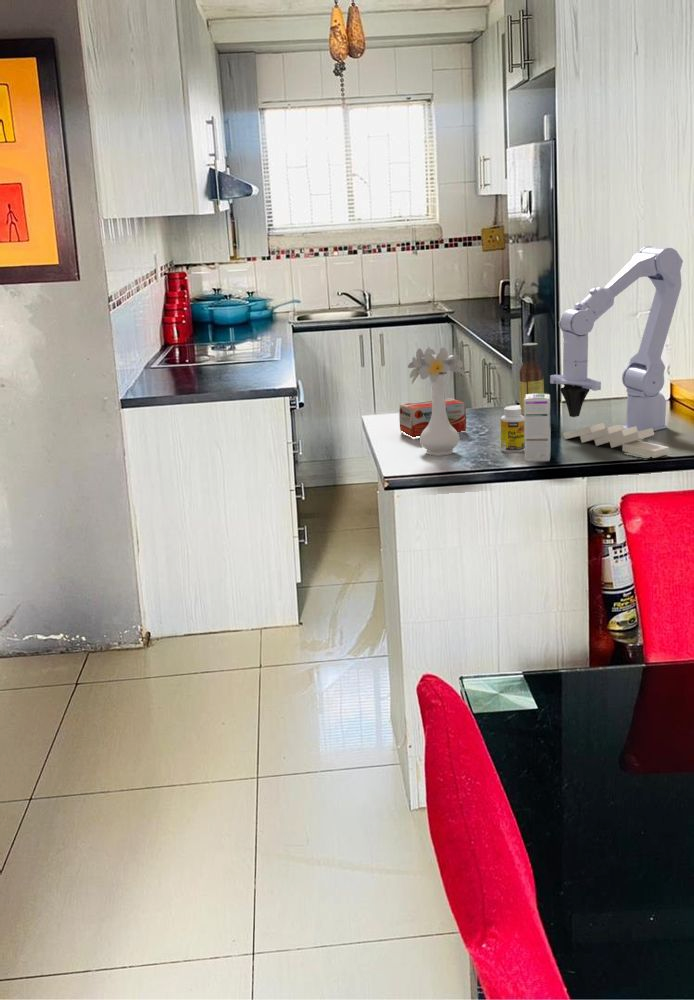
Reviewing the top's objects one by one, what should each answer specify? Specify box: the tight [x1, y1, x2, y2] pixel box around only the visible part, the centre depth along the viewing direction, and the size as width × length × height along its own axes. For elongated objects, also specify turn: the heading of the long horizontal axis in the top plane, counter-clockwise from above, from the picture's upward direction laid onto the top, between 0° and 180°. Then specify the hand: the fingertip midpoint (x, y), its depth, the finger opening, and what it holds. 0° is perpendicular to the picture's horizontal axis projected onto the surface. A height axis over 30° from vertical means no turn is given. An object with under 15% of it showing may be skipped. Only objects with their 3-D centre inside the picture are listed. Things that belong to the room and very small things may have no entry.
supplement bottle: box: [500, 405, 525, 454], centre depth 247 cm, size 6×6×10 cm
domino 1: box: [562, 422, 606, 440], centre depth 254 cm, size 2×5×9 cm
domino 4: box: [609, 428, 655, 449], centre depth 242 cm, size 2×5×9 cm
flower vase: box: [407, 346, 468, 457], centre depth 246 cm, size 13×18×25 cm
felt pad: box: [623, 452, 648, 458], centre depth 239 cm, size 6×6×1 cm
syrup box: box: [524, 393, 552, 462], centre depth 238 cm, size 6×6×14 cm
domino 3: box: [593, 426, 638, 447], centre depth 246 cm, size 2×5×9 cm
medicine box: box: [398, 397, 467, 437], centre depth 268 cm, size 15×8×8 cm, turn 111°
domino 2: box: [579, 424, 623, 444], centre depth 250 cm, size 2×5×9 cm
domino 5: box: [622, 440, 670, 459], centre depth 240 cm, size 2×5×9 cm
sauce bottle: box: [518, 342, 545, 416], centre depth 276 cm, size 6×6×20 cm
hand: (574, 416), depth 256 cm, fingers closed
